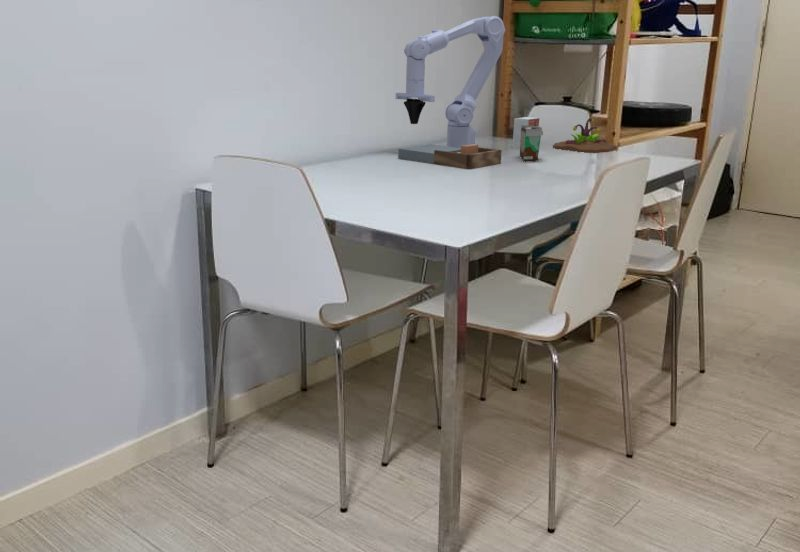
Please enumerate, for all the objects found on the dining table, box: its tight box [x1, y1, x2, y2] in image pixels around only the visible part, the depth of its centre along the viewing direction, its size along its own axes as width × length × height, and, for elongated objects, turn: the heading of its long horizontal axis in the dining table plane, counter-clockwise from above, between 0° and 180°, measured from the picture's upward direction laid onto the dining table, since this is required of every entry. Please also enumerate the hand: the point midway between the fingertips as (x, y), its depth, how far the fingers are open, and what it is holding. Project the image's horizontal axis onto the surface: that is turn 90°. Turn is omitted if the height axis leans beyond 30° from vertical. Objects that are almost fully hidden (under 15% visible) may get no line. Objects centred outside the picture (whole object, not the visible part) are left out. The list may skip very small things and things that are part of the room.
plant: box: [552, 117, 618, 154], centre depth 269 cm, size 20×20×11 cm
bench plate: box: [397, 143, 461, 165], centre depth 245 cm, size 16×14×3 cm
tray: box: [433, 146, 502, 170], centre depth 236 cm, size 16×13×4 cm
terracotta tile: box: [461, 143, 479, 154], centre depth 236 cm, size 6×5×2 cm
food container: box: [519, 125, 544, 163], centre depth 246 cm, size 12×6×10 cm, turn 179°
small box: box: [512, 116, 540, 149], centre depth 270 cm, size 8×6×10 cm
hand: (414, 123), depth 252 cm, fingers closed
